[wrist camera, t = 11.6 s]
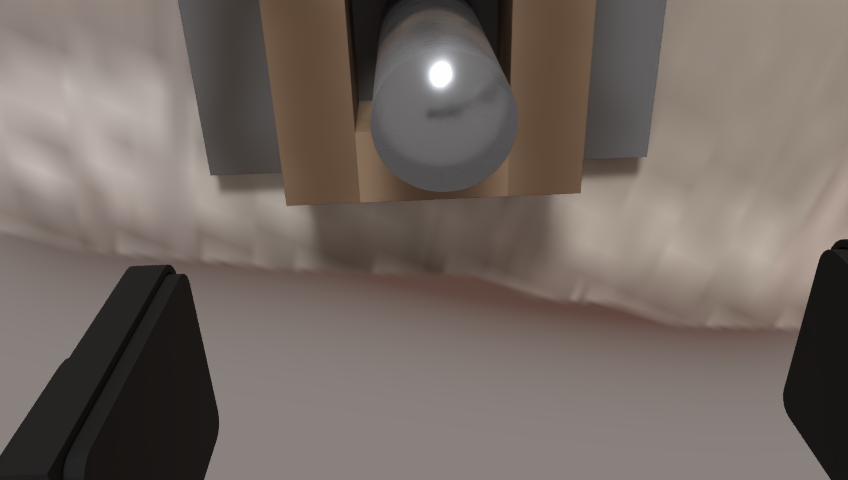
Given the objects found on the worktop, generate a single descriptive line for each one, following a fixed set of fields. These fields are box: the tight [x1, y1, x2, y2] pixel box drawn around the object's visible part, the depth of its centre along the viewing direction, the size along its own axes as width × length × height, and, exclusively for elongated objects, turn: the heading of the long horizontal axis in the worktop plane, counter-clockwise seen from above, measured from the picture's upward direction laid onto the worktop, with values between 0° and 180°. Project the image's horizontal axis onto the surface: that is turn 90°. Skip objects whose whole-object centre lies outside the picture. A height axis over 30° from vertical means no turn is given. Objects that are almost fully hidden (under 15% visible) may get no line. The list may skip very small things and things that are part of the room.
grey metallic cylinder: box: [371, 0, 518, 192], centre depth 25 cm, size 4×4×12 cm
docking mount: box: [178, 0, 667, 206], centre depth 29 cm, size 20×12×5 cm, turn 92°
